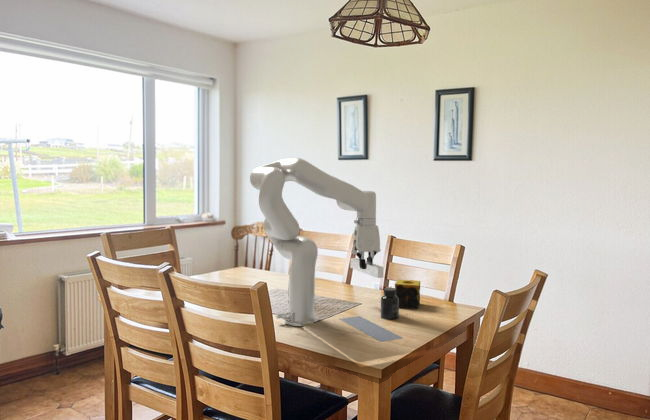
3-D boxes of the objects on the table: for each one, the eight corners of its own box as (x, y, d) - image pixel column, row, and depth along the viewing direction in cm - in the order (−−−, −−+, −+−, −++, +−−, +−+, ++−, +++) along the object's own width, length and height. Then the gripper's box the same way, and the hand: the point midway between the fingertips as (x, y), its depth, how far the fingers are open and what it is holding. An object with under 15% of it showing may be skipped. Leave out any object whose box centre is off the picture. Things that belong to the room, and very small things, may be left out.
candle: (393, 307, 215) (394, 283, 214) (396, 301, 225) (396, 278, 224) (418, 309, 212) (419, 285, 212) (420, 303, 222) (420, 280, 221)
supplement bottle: (397, 317, 200) (397, 287, 199) (400, 323, 193) (401, 291, 192) (379, 317, 200) (379, 286, 199) (381, 323, 193) (382, 291, 192)
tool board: (380, 345, 169) (380, 341, 169) (338, 322, 193) (338, 318, 193) (403, 341, 173) (403, 337, 173) (359, 319, 198) (359, 316, 197)
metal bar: (377, 278, 197) (377, 267, 196) (350, 267, 217) (350, 258, 216) (383, 277, 198) (383, 267, 197) (355, 267, 218) (355, 257, 217)
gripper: (352, 224, 199) (352, 271, 200) (388, 222, 206) (388, 268, 207) (343, 222, 206) (343, 268, 207) (379, 220, 212) (378, 265, 214)
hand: (366, 267), depth 207 cm, fingers closed on metal bar, 2 cm apart
